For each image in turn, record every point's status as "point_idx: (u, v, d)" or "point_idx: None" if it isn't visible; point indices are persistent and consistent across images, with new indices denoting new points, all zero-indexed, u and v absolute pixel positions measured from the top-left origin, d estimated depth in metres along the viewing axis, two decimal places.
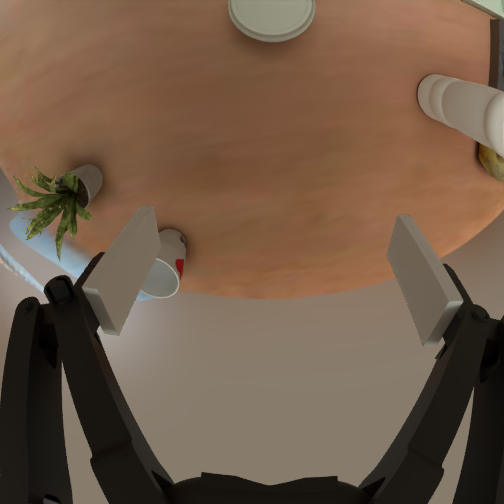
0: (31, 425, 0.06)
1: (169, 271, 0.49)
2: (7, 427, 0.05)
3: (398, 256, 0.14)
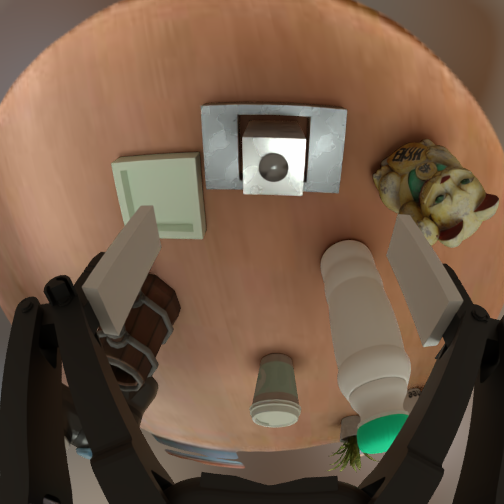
0: (31, 425, 0.06)
1: None
2: (7, 427, 0.05)
3: (397, 256, 0.14)
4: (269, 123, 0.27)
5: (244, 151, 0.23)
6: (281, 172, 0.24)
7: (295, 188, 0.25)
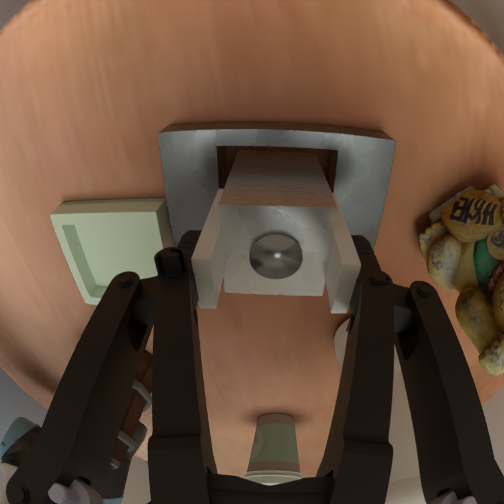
0: (90, 408, 0.06)
1: None
2: (62, 402, 0.06)
3: None
4: (269, 159, 0.17)
5: (223, 228, 0.13)
6: (289, 265, 0.14)
7: (312, 286, 0.15)
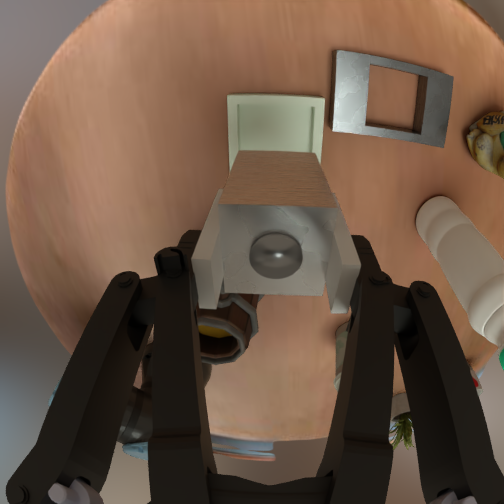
0: (90, 408, 0.06)
1: None
2: (62, 402, 0.06)
3: None
4: (269, 159, 0.17)
5: (222, 228, 0.13)
6: (289, 265, 0.14)
7: (312, 286, 0.15)
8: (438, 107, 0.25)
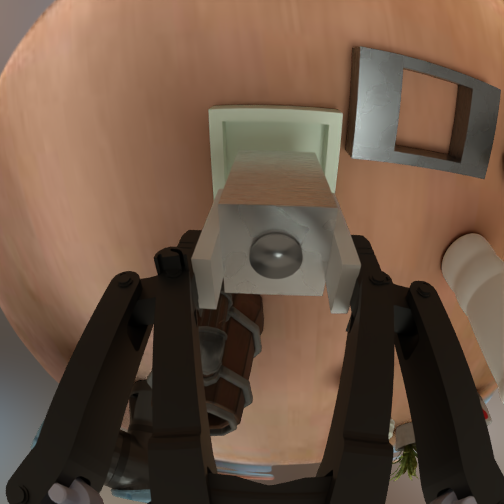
0: (90, 408, 0.06)
1: None
2: (62, 402, 0.06)
3: None
4: (269, 159, 0.17)
5: (222, 228, 0.13)
6: (289, 265, 0.14)
7: (312, 286, 0.15)
8: (482, 128, 0.18)
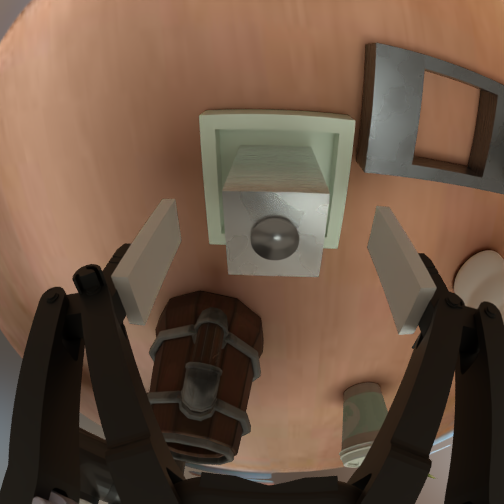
0: (46, 418, 0.06)
1: None
2: (20, 418, 0.05)
3: (376, 247, 0.15)
4: (269, 153, 0.18)
5: (226, 213, 0.14)
6: (287, 246, 0.15)
7: (308, 267, 0.16)
8: None
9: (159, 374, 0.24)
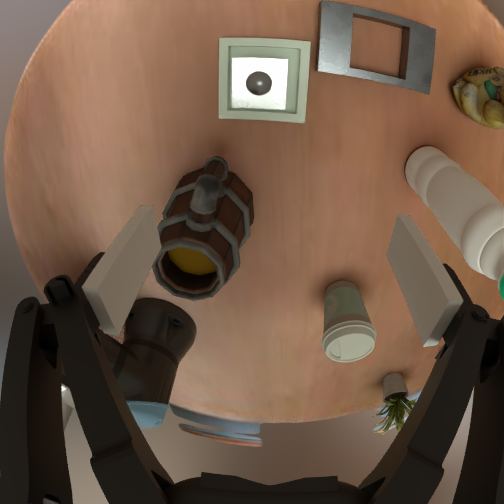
0: (31, 425, 0.06)
1: None
2: (7, 427, 0.05)
3: (397, 256, 0.14)
4: None
5: (233, 69, 0.23)
6: (265, 87, 0.24)
7: (278, 102, 0.25)
8: (421, 55, 0.24)
9: (171, 212, 0.33)
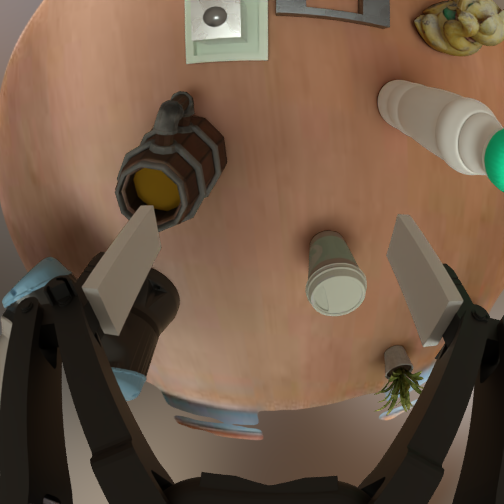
0: (31, 425, 0.06)
1: None
2: (6, 427, 0.05)
3: (397, 256, 0.14)
4: None
5: (192, 8, 0.22)
6: (221, 18, 0.22)
7: (234, 31, 0.23)
8: None
9: None
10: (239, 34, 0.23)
